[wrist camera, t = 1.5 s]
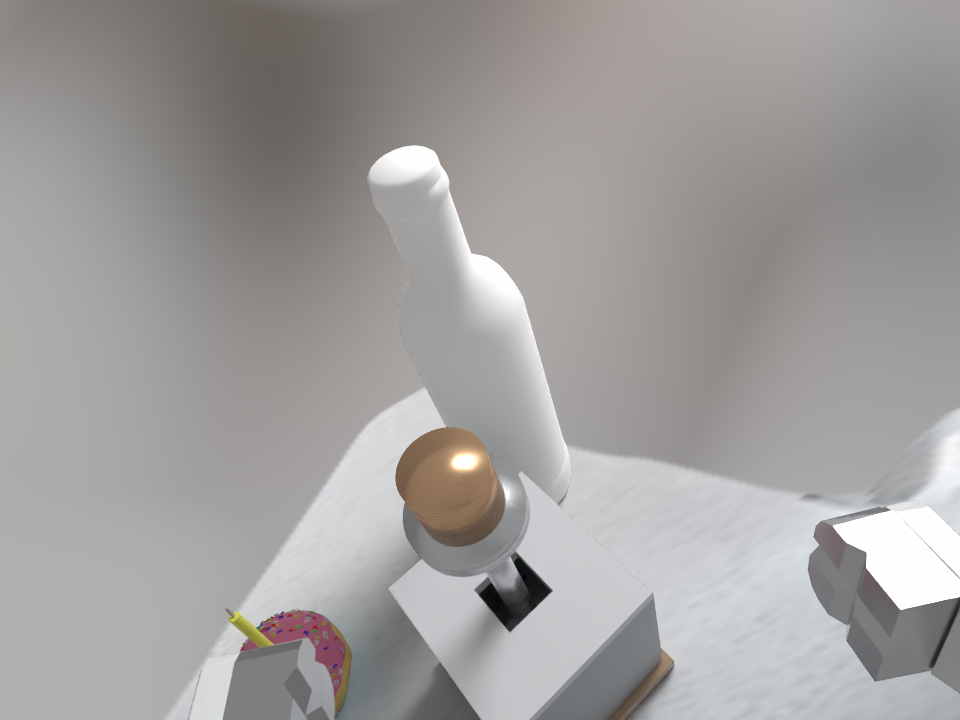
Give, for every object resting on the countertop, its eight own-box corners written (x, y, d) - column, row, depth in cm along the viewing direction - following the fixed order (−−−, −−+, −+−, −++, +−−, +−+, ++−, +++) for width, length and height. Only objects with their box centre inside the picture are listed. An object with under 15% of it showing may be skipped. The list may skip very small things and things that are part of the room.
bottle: (461, 498, 51) (291, 203, 30) (508, 425, 55) (386, 115, 33) (545, 536, 47) (418, 227, 26) (589, 455, 51) (511, 124, 29)
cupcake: (260, 657, 47) (161, 602, 38) (363, 613, 47) (288, 547, 38) (267, 785, 41) (152, 754, 32) (384, 733, 41) (301, 688, 33)
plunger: (536, 537, 39) (459, 357, 26) (626, 626, 35) (585, 461, 22) (445, 621, 37) (313, 472, 24) (527, 729, 33) (416, 615, 20)
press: (557, 550, 46) (521, 460, 37) (674, 666, 39) (667, 592, 30) (445, 656, 43) (376, 588, 34) (550, 801, 36) (500, 767, 27)
